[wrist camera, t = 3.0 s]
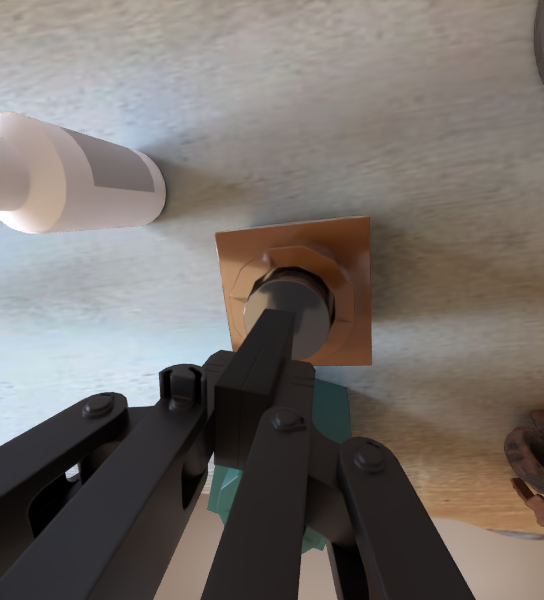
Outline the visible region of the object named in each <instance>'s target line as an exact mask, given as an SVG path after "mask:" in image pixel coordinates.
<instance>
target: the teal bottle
mask: <svg viewBox="0 0 544 600" xmlns="http://www.w3.org/2000/svg"><path fill="white" fill-rule="evenodd" d="M312 421H313V423H314V425H315V427H316V428H317V429H318V431H319V432H321V433H322V434H323V435H324V436H326V437H327V438H329V439H331V440H333V441H335V442H337V443H339V444H342V443H343V442H344V441H346V440H347V439H349V438H352V432H351V422H350V412H349V402H348V392H347V388H346V387H342V386H339V385H335V384H332V383H328V382H325V381H321V380H318V379H315V383H314V396H313V408H312ZM242 473H243V471H242V470H237V469H232V468H228V467H223V466H219V465H215V468H214V474H213V479H212V485H211V490H210V496H209V501H208V507H207V510H209V511H212V512H215V513H218V514H219V515H220V517H221V520H222V522H223V524H224V526H225V524H226V521H227V518H228V515H229V512H230V509H231V506H232V503H233V500H234V497H235V494H236V491H237V488H238V485H239V482H240V479H241V476H242ZM325 544H326V539H325V537H323V536H321V535H320V534H318V533H317V532H315V531H314V530H312V529H310V528H309V527H307V526H306V525H304V528H303V540H302V553H301V554H303V553H305V552H306V551H308V550H310V549H312V548H316V549H319V550H322V551H323V549H324V546H325Z"/></svg>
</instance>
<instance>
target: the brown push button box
mask: <svg viewBox="0 0 544 600" xmlns="http://www.w3.org/2000/svg"><path fill="white" fill-rule="evenodd" d="M214 236H215V242H216V249H217V255H218V261H219V267H220V274H221V280H222V286H223V292H224V299H225V305H226V311H227V317H228V324H229V330H230V336H231V343H232V349H233V352H237V350H238V349H239V347H240V346H241V344H242V343H243V341H244V340H245V338H246V336H247V334H246V331H245V328H244V322H243V314H244V308H245V305H246V303H247V301H248V299H249V297H250V296H251V295H252V293H253V292H254V291H255V290H256V289H257V288H258V287H259V286H260V285H261V284H262V283H263V282H264V281H265V280H266V279H267V278H268V277H270V276H271V275H273V274H276V273H278V272H282V271H299V272H303V273H305V274H308V275H310V276H311V277H313V278H314V279H316V280H317V281H318V282H319V283H320V284H321V285H322V287H323V288H324V289H325V291H326V293H327V295H328V298H329V302H330V329H329V334H328V337H327V339H326V341H325V343H324V344H323V346H322V347H321V348H320V349H319V350H318V351H317V352H316V353H315V354H313V355H311V356H310V357H308V358H305V359H302V360H299V361H304V362H311V364H312V366H371V365H372V337H371V266H370V217H368V216H361V215H352V216H343V217H334V218H324V219H315V220H306V221H297V222H287V223H278V224H269V225H259V226H250V227H243V228H238V229H233V230H227V231H222V232H217V233H214Z"/></svg>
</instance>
